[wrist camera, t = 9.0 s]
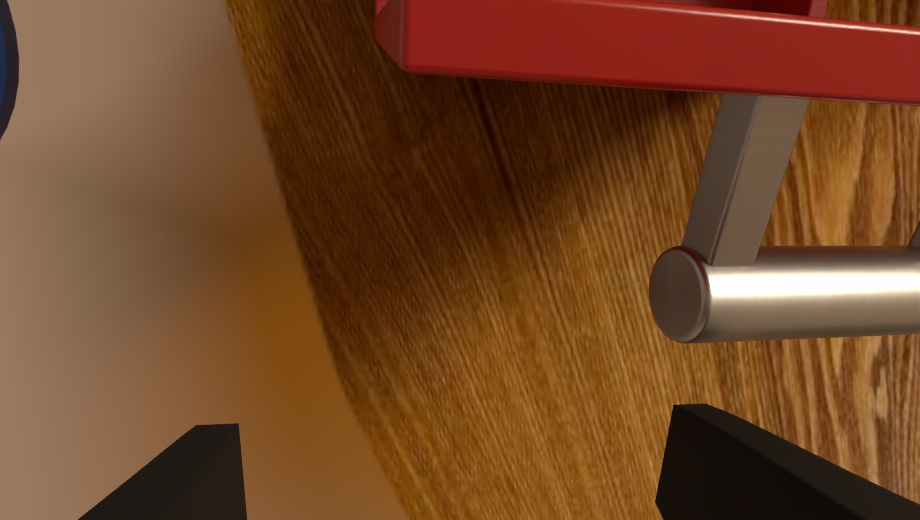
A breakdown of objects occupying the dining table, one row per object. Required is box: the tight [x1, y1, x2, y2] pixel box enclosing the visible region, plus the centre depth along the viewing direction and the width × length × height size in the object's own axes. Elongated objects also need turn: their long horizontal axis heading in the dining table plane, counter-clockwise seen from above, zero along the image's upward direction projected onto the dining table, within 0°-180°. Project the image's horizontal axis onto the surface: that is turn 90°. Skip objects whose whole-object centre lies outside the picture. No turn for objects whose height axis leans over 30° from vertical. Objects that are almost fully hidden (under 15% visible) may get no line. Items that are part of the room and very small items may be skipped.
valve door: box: [375, 0, 920, 343], centre depth 10 cm, size 10×13×4 cm
